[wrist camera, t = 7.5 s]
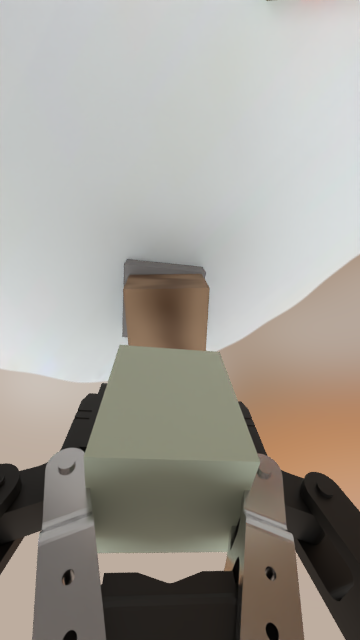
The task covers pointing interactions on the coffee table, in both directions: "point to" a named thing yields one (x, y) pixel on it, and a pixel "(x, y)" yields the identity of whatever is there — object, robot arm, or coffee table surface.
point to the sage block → (168, 454)
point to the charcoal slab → (154, 268)
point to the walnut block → (167, 311)
